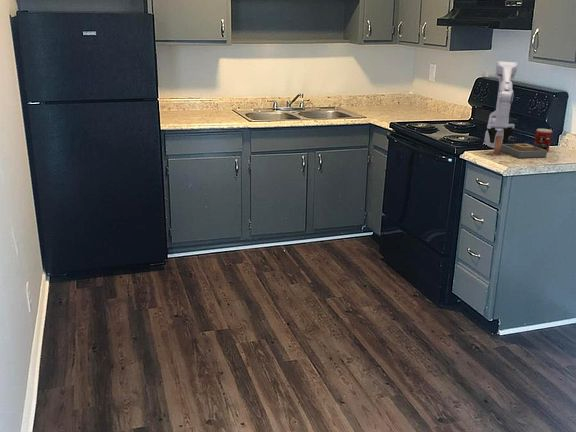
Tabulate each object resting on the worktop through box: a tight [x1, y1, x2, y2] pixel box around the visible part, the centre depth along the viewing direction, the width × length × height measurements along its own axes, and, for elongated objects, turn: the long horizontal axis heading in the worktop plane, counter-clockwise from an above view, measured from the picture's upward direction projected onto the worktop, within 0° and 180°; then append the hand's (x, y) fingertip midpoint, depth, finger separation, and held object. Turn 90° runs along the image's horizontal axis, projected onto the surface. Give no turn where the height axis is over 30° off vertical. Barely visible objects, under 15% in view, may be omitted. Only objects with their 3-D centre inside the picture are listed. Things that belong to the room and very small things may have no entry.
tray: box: [500, 143, 548, 160], centre depth 298 cm, size 16×16×5 cm
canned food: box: [533, 128, 553, 153], centre depth 307 cm, size 8×8×11 cm
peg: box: [492, 136, 503, 156], centre depth 296 cm, size 3×3×9 cm
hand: (498, 142), depth 295 cm, fingers open, 7 cm apart
